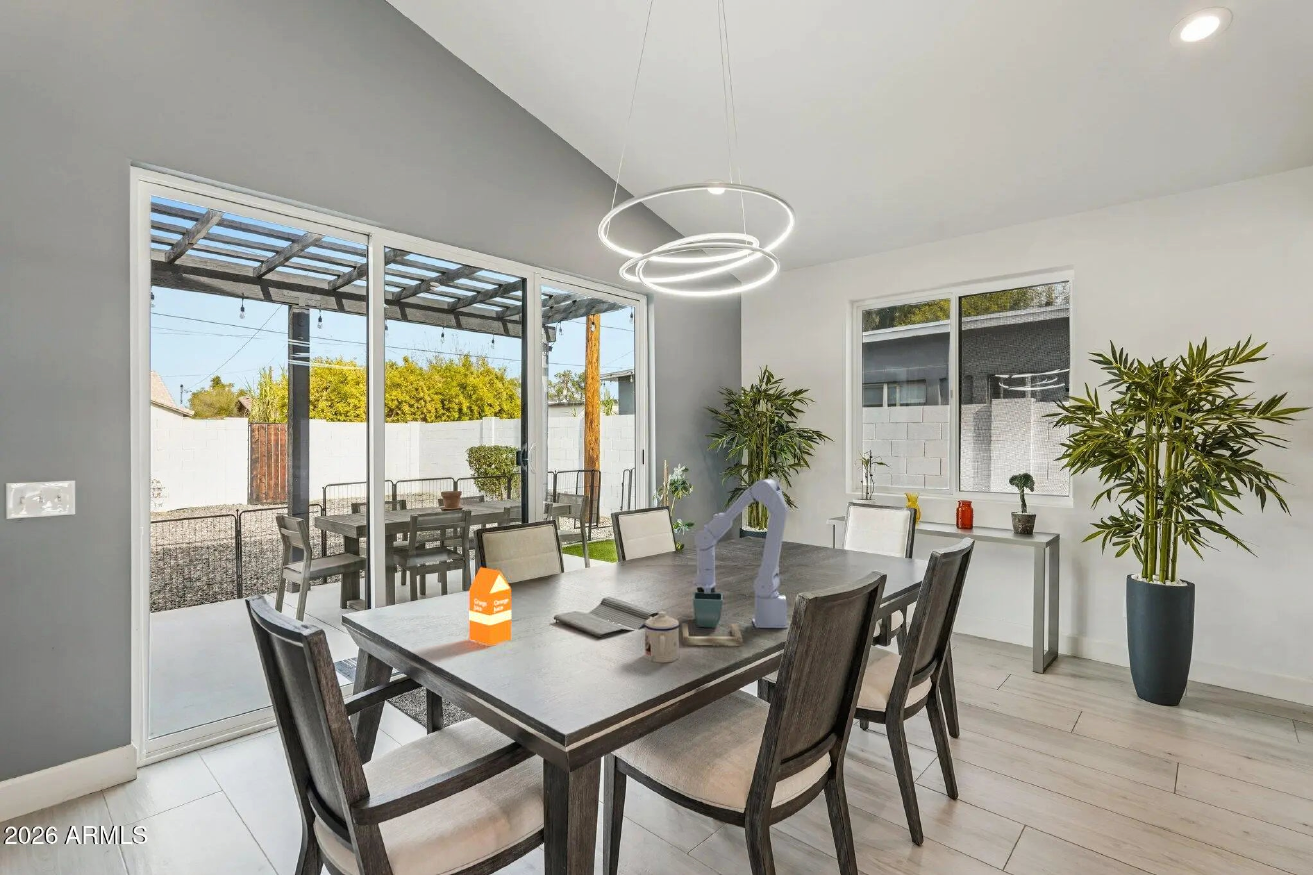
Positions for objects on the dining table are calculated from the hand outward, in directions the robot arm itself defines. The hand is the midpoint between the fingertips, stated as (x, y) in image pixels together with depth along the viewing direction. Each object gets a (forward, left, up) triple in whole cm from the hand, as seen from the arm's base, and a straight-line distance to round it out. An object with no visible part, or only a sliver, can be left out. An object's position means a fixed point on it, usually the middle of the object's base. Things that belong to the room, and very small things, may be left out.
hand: (705, 610), depth 196 cm
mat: (+31, +7, -3) cm, 32 cm away
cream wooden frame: (0, +20, -2) cm, 20 cm away
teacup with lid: (+14, +38, -2) cm, 40 cm away
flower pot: (0, +9, -2) cm, 9 cm away
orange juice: (+62, +24, -2) cm, 67 cm away
